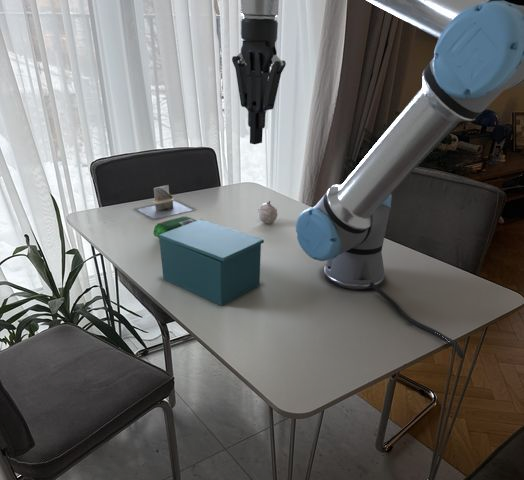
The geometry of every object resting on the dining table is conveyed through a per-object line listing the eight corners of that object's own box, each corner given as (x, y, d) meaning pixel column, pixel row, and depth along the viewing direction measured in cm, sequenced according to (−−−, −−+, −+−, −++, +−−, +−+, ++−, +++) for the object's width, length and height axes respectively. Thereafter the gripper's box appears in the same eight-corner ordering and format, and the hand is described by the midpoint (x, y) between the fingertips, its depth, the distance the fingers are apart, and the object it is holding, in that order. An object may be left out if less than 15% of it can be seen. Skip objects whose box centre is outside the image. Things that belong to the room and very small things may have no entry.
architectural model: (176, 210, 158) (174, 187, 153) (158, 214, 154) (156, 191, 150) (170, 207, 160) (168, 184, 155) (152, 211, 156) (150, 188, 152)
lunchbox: (259, 284, 117) (261, 243, 111) (221, 306, 108) (220, 262, 102) (202, 261, 126) (201, 222, 120) (163, 279, 117) (159, 237, 111)
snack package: (208, 235, 141) (208, 218, 138) (163, 247, 132) (161, 230, 129) (195, 228, 145) (194, 211, 142) (150, 240, 137) (148, 222, 134)
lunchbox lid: (263, 242, 110) (263, 239, 109) (223, 261, 101) (223, 258, 100) (201, 222, 120) (201, 219, 120) (159, 237, 111) (158, 234, 111)
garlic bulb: (254, 223, 150) (254, 198, 146) (262, 217, 155) (263, 192, 151) (272, 227, 148) (274, 202, 144) (281, 221, 153) (282, 196, 148)
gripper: (296, 19, 94) (288, 145, 108) (246, 17, 101) (244, 136, 114) (273, 19, 89) (268, 150, 103) (222, 16, 96) (224, 140, 109)
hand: (256, 142), depth 109 cm, fingers closed
